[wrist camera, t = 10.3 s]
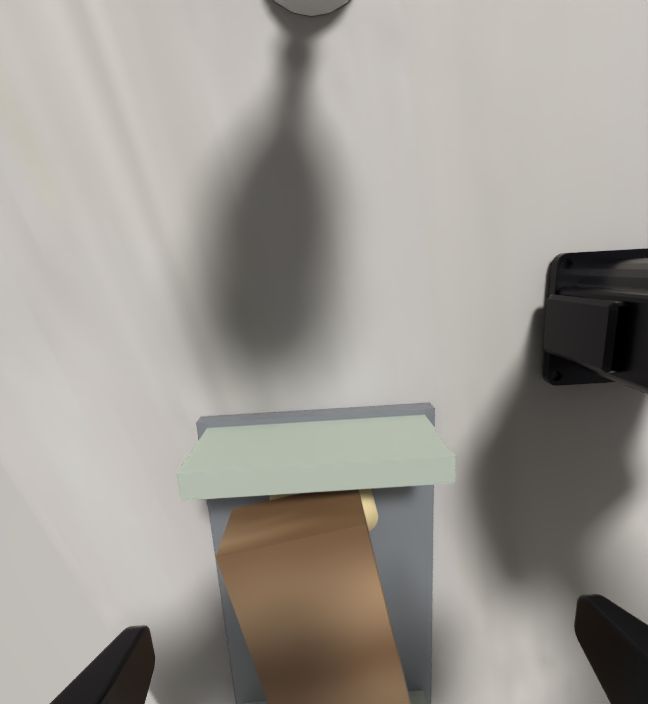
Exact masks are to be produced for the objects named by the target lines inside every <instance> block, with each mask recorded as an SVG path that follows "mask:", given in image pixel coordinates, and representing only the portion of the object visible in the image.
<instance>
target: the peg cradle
mask: <svg viewBox="0 0 648 704" xmlns="http://www.w3.org/2000/svg"><path fill="white" fill-rule="evenodd" d="M196 426H197V433H198V440H199V441H198V442H197V444H196V445H195V447H194V448H193V450H192V451H191V453H190V454H189V456H188V457H187V459H186V460H185V462H184V463H183V465H182V466H181V468H180V469H179V471H178V472H177V479H178V485H179V491H180V497H181V501H184V500H199V499H207V502H208V509H209V516H210V523H211V530H212V537H213V544H214V551H215V558H216V555H217V552H218V549H219V546H220V543H221V541H222V538H223V535H224V532H225V529H226V526H227V523H228V520H229V517H230V514H231V511H232V509H234V508H239V507H243V506H247V505H252V504H256V503H261V502H265V501H269V500H274V499H278V498H283V497H287V496H291V495H296V494H300V493H309V492H324V491H340V490H355V489H359V492H360V496H361V501H362V505H363V509H364V513H365V517H366V521H367V525H368V529H369V533H370V537H371V542H372V546H373V550H374V554H375V558H376V562H377V566H378V570H379V574H380V579H381V583H382V587H383V591H384V595H385V599H386V603H387V607H388V611H389V615H390V620H391V624H392V628H393V632H394V636H395V640H396V644H397V648H398V652H399V656H400V661H401V665H402V669H403V673H404V677H405V681H406V685H407V689H408V693H409V698H410V702H411V704H431V654H432V579H433V505H434V484H449V483H455V465H456V456H455V454H454V453H453V452H452V450H451V449H450V448H449V446H448V445H447V444H446V442H445V441H444V440H443V438H442V437H441V436H440V434H439V433H438V432H437V430H436V429H435V408H434V407H433V406H432V405H431V403H418V404H402V405H385V406H369V407H353V408H336V409H320V410H304V411H288V412H271V413H255V414H239V415H222V416H206V417H200V419H199V420H198V421H197V423H196ZM216 565H217V572H218V579H219V586H220V593H221V600H222V607H223V614H224V621H225V628H226V635H227V642H228V649H229V656H230V663H231V670H232V677H233V684H234V691H235V698H236V704H268V701H267V699H266V696H265V693H264V690H263V687H262V685H261V682H260V679H259V676H258V674H257V671H256V668H255V665H254V663H253V660H252V657H251V654H250V651H249V649H248V646H247V643H246V640H245V638H244V635H243V632H242V629H241V627H240V624H239V621H238V618H237V616H236V613H235V610H234V607H233V604H232V602H231V599H230V596H229V593H228V591H227V588H226V585H225V582H224V580H223V577H222V574H221V571H220V569H219V566H218V563H217V560H216Z"/></svg>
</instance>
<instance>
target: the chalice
mask: <svg viewBox="0 0 648 704" xmlns="http://www.w3.org/2000/svg"><path fill="white" fill-rule="evenodd" d="M274 1H275V2H276V3H278V4H280V5H281V6H283V7H285V8H286V9H288V10H290V11H291V12H293V13H298V14H303V15H309V16H315V15H320V14H326V13H331V12H332V11H334V10H336V9H337V8H339V7H341V6H342V5H344V4H346V3H347V2H348V1H349V0H274Z"/></svg>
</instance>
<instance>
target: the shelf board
mask: <svg viewBox="0 0 648 704" xmlns="http://www.w3.org/2000/svg"><path fill="white" fill-rule="evenodd" d="M216 560H217V563H218V566H219V569H220V571H221V574H222V577H223V580H224V582H225V585H226V588H227V591H228V593H229V596H230V599H231V602H232V604H233V607H234V610H235V613H236V616H237V618H238V621H239V624H240V627H241V629H242V632H243V635H244V638H245V640H246V643H247V646H248V649H249V651H250V654H251V657H252V660H253V663H254V665H255V668H256V671H257V674H258V676H259V679H260V682H261V685H262V687H263V690H264V693H265V696H266V699H267V701H268V704H411V702H410V698H409V693H408V689H407V685H406V681H405V677H404V673H403V669H402V665H401V661H400V656H399V652H398V648H397V644H396V640H395V636H394V632H393V628H392V624H391V620H390V615H389V611H388V607H387V603H386V599H385V595H384V591H383V587H382V583H381V579H380V574H379V570H378V566H377V562H376V558H375V554H374V550H373V546H372V542H371V537H370V533H369V529H368V525H367V521H366V517H365V513H364V509H363V505H362V501H361V496H360V492H359V489H355V490H340V491H324V492H309V493H300V494H296V495H291V496H287V497H283V498H278V499H274V500H269V501H265V502H261V503H256V504H252V505H247V506H243V507H239V508H234V509H232V511H231V514H230V517H229V520H228V523H227V526H226V529H225V532H224V535H223V538H222V541H221V543H220V546H219V549H218V552H217V555H216Z"/></svg>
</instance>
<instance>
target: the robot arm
mask: <svg viewBox="0 0 648 704" xmlns="http://www.w3.org/2000/svg"><path fill="white" fill-rule="evenodd" d="M564 260H566V261H567V266H566V267H565V268H563V267H562V263H563V261H564ZM543 348H544V349H545V352H544V364H543V379H544V380H545V381H546V382H548V383H550V384H552V385H556V386H557V385H574V384H590V383H607V382H618V383H621V384H623V385H626V386H628V387H631V388H634V389H636V390H639V391H642V392H644V393H647V394H648V249H631V250H613V251H596V252H578V253H562V254H559V255H557V256H556V257H555V258H554V260H553V262H552V266H551V279H550V291H549V298H548V299H547V304H546V316H545V329H544V341H543ZM555 372H557V376H556V377H555V378H552V375H553V373H555ZM574 628H575V633H576V636H577V639H578V641H579V643H580V645H581V647H582V649H583V651H584V653H585V655H586V657H587V659H588V661H589V662H590V664H591V666H592V668H593V670H594V672H595V674H596V676H597V678H598V680H599V682H600V684H601V686H602V688H603V690H604V691H605V693H606V695H607V697H608V699H609V701H610V703H611V704H648V625H647V624H645V623H644V622H642V621H641V620H639V619H638V618H636V617H635V616H633V615H631V614H630V613H628V612H627V611H625V610H624V609H622V608H621V607H619V606H618V605H616V604H614V603H613V602H611V601H610V600H608V599H607V598H605V597H603V596H601V595H598V594H592V595H581V596H580V597H579V598H578V600H577V607H576V615H575V623H574ZM154 665H155V653H154V649H153V644H152V639H151V634H150V630H149V628H148V627H147V626H145V625H144V626H131V627H128V628H126V629H125V630H123V631H122V632H121V633H120V634H119V635H118V636H117V637H116V638H115V639H114V640H113V641H112V642H111V643H110V644H109V645H108V646H107V647H106V648H105V649H104V650H103V651H102V652H101V653H100V654H99V655H98V656H97V657H96V658H95V659H94V660H93V661H92V662H91V663H90V664H89V665H88V666H87V667H86V668H85V669H84V670H83V671H82V672H81V673H80V674H79V675H78V676H77V677H76V678H75V679H74V680H73V681H72V682H71V683H70V684H69V685H68V686H67V687H66V688H65V689H64V690H63V691H62V692H61V693H60V694H59V695H58V696H57V697H56V698H55V699H54V700H53V701H52V702H51V703H50V704H144V703H145V700H146V696H147V693H148V689H149V685H150V681H151V678H152V674H153V670H154Z"/></svg>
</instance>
